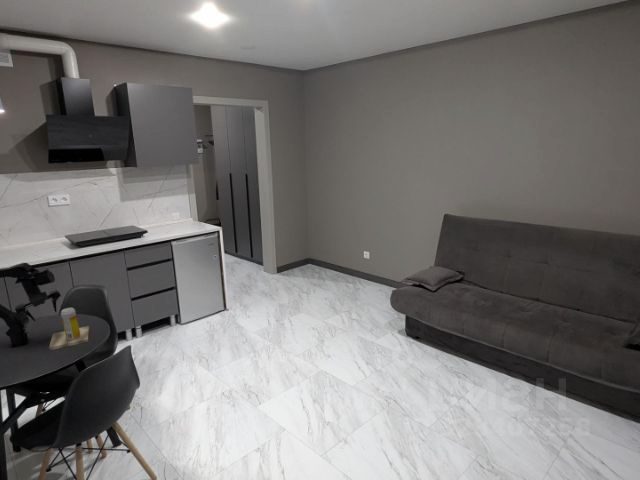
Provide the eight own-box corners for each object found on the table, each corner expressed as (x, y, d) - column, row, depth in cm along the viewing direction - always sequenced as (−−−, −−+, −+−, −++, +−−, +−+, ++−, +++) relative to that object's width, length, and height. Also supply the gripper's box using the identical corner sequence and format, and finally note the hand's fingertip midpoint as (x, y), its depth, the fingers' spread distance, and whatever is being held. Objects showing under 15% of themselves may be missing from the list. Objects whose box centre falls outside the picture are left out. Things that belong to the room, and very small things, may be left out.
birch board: (49, 350, 191) (48, 347, 191) (53, 336, 205) (53, 333, 205) (88, 341, 198) (87, 339, 198) (89, 328, 212) (89, 325, 212)
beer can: (82, 334, 203) (76, 306, 199) (78, 339, 197) (72, 311, 193) (69, 335, 202) (62, 308, 198) (64, 341, 196) (58, 313, 192)
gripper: (9, 300, 183) (25, 330, 187) (55, 282, 193) (68, 311, 198) (8, 295, 191) (23, 324, 196) (52, 279, 202) (65, 306, 207)
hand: (45, 316), depth 199 cm, fingers open, 9 cm apart
